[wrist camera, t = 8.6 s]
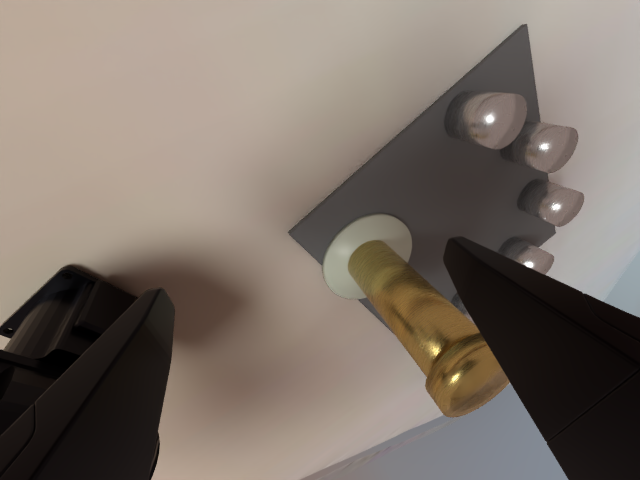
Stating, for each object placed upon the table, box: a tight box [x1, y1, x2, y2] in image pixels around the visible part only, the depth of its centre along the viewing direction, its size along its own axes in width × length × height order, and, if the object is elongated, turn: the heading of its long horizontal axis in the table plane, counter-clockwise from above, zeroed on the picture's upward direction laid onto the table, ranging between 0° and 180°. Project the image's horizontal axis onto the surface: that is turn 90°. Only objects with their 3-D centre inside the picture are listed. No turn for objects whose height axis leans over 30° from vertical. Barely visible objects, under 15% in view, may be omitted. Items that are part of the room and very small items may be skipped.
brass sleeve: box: [348, 240, 510, 417], centre depth 21 cm, size 5×5×13 cm
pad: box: [322, 213, 412, 299], centre depth 27 cm, size 9×9×1 cm
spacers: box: [444, 90, 584, 324], centre depth 30 cm, size 16×28×4 cm, turn 0°
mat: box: [288, 24, 556, 332], centre depth 30 cm, size 24×26×1 cm
